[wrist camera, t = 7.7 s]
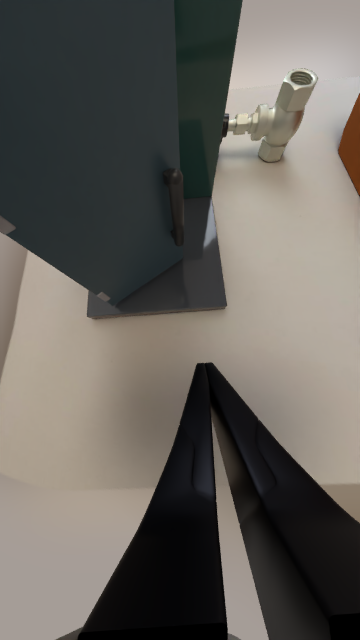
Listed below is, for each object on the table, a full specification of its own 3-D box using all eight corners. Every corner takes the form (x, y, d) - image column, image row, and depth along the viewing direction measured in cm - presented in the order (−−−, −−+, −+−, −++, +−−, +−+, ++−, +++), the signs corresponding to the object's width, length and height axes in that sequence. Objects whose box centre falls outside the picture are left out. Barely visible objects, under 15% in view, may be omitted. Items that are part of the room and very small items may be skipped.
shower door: (190, 266, 18) (205, -107, 3) (118, 315, 17) (-276, 84, 3) (180, 255, 18) (158, -124, 4) (110, 302, 18) (-275, 38, 3)
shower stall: (224, 309, 18) (380, 121, 4) (92, 319, 19) (-253, 186, 4) (209, 201, 22) (258, -115, 7) (99, 211, 22) (-71, -67, 8)
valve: (280, 137, 24) (203, 142, 25) (314, 58, 18) (209, 67, 18) (288, 169, 23) (205, 174, 23) (328, 95, 16) (213, 104, 17)
